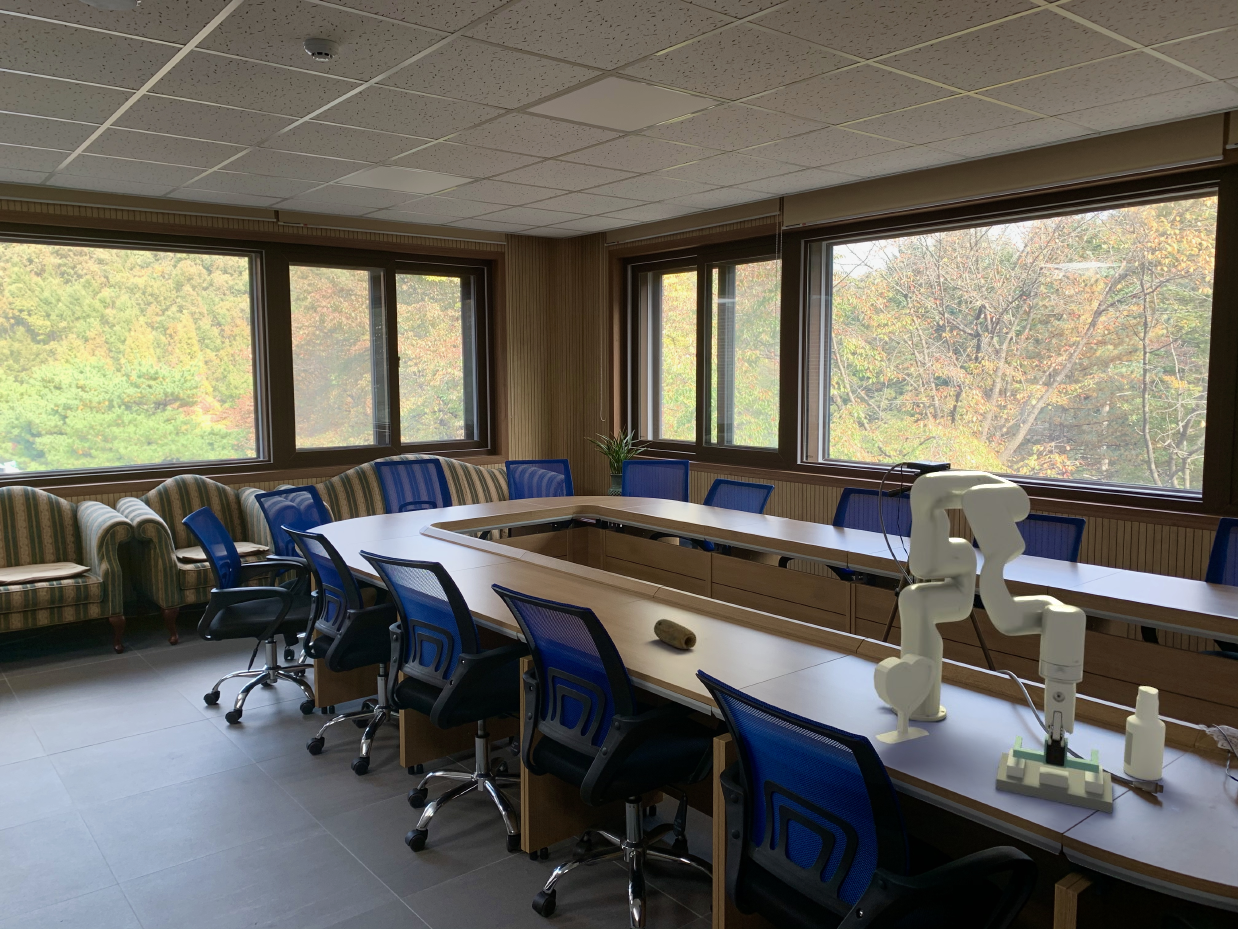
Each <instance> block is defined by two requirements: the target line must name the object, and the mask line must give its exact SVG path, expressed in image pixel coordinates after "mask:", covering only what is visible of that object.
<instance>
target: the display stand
mask: <svg viewBox="0 0 1238 929" xmlns="http://www.w3.org/2000/svg"><path fill="white" fill-rule="evenodd" d="M1111 776H1112V774H1111V773H1110V772H1106V771H1104V770H1103V765H1100V764H1099V773H1093V772H1088V771H1083V770H1078V769H1073V768H1067V767H1066V769H1065V768H1060V767H1055V766H1050V765H1044V764H1043V763H1041V762H1036V761H1031V760H1026V759H1021V758H1015V757H1013V748H1011V747H1010V748H1009V752H1008V753H1007V752H1002V753H1001V756H1000V760H999V765H998V769H997V775H996V779H995V789H996V790H1001V791H1006V792H1010V793H1016V794H1020V795H1024V796H1029V797H1035V798H1039V799H1044V800H1049V801H1053V802H1058V803H1062V804H1068V805H1072V806H1076V807H1082V808H1085V809H1091V810H1096V811H1100V812H1106V813H1110V814H1112V813H1113V792H1112V791H1113V790H1112V789H1113V788H1112V777H1111Z"/></svg>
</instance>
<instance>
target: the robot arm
mask: <svg viewBox="0 0 1238 929" xmlns="http://www.w3.org/2000/svg"><path fill="white" fill-rule="evenodd" d="M909 497H910V498H909V503H910V504H909V505H910V509H911V510H910V511H911V521H912V522H911V529H910V530H911V531H910V542H909V552H908V553H909V554H908V566H909V567H908V568H909V571H910V573H911V574H912V575H913V576H914V577H915V578H917V579H922V580H935V579H937V580H938V579H944V581H938V582H935V581H933V582H919V583H914V584H910V585H907V586H906V587H904V588H903V589H902V590H901V591H900V593H899V595H898V602H897V603H898V610H899V616H900V630H901V633H900V634H901V635H900V636H901V639H900V658H899V659H901V658H902V657H903V656H905V655H906V654H917V655H920V656H923V657H926V658H929V659H931V660H933V661H934V662H935V664H936V674H935V680H934V684H933V686H932V688H931V690H930V693H929V694H928V696H927V697H926V698H925V700H924V701H923V702H922V703H921V704H920V705H919V706H918V707H917V708H916V709H915V710H914V711H913V712H912V713H911V714H910V716H909V720H911V721H912V720H913V721H918V722H937V721H941V720H944V719H946V717H947V712H948V711H947V709H946V707H945V706H943V705H942V704H941V694H942V693H941V690H942V671H943V656H944V655H943V654H944V652H943V650H944V643H943V639H942V636H941V633H940V632H939V630H938V629H937V626H936V624H938V623H939V624H940V623H949V622H950V623H951V622H959V621H962V620H965V619H966V618H968V617H969V616H970V615H971V612H972V609H973V606H974V605H973V604H974V599H975V590H976V581H977V571H978V558H977V554H976V551H975V548H974V546H973V545H972V543H970V542H969V541H968V540H967V539H965V538H963V537H961V538H960V537H950V532H951V531H950V530H951V522H950V518H949V516H948V514H947V512H946V510H947V509H948V510H950V509H957V510H958V509H962V511H963V513H964V516H965V518H966V520H967V522H968V525H969V526H970V529H971V531H972V534H973V535H974V538H975V540H976V542H977V544H978V547H979V549H980V551H981V553H982V556H983V558H984V559H983V560H984V561H983V563H982V566H981V569H980V574H979V584H978V585H979V586H978V587H979V591H978V592H979V596H980V599H981V602H982V604H983V606H984V609H985V610H986V613H987V615H988V618H989V620H990V622H991V623H992V624H993V626H994V627H995V628H996V629H997V630H998V631H999V632H1000V633H1001V634H1004V635H1006V636H1023V635H1024V636H1025V635H1033V634H1035V635H1037V634H1039V635H1040V644H1039V646H1040V648H1039V664H1038V665H1039V666H1038V675H1039V676H1040V677H1041V678H1043V679H1045V680H1044V700H1043V701H1044V702H1043V703H1044V706H1043V707H1044V709H1043V710H1044V728H1045V729H1046V731H1048V735H1049V737H1048V743H1047V747H1046V763H1047V764H1051V765H1056V766H1064V758H1065V746H1064V737H1065V734H1066V733H1068V734H1069V735H1073V733H1074V727H1075V726H1074V725H1075V715H1076V714H1075V711H1076V701H1077V700H1076V699H1077V697H1076V696H1077V694H1076V693H1077V684H1078V683H1080V682H1082V681H1083V670H1084V655H1085V641H1086V640H1085V638H1086V637H1085V636H1086V626H1087V625H1086V624H1087V616H1086V613H1085V611H1084V610H1082V609H1081V608H1080V607H1077V606H1074V605H1070V604H1065V603H1064V602H1062V601H1060V600H1058V599H1057V598H1055V597H1053V596H1050V595H1047V594H1046V595H1045V594H1040V595H1039V594H1038V595H1022V596H1019V595H1018V596H1011V593H1010V591H1009V590H1008V588H1007V584H1006V583H1005V579H1004V570H1005V565H1007V564H1009V563H1010V562H1012V561H1014V560H1015V559H1017V558H1018V557H1020V556H1021V555H1022V554H1023V553H1024V551H1025V550H1026V543H1025V540H1024V538H1023V537H1022V534H1021V532H1020V530H1019V529H1018V526H1017V523H1018V522H1021V521H1023V520H1025V519H1026V518H1027V517H1028V515H1029V513H1030V511H1031V501H1030V498H1029V496H1028V494H1027V492H1026V490H1024V489H1023V487H1022V486H1020V485H1018V484H1016V483H1015V482H1012V481H1009V480H1007V479H1005V478H1001V477H999V476H996V475H993V474H991V473H990V472H989V473H988V472H984V471H977V470H975V471H973V470H971V471H937V472H929V473H925V474H922V475H920V476H919V477H918V478H916V480H915V481H914V483H913V484H912V486H911V490H910V493H909ZM1016 522H1017V523H1016ZM891 710H892V712H893V713H895V715H897V716H898V711H897V710H896V709H895V708H893V707H891Z"/></svg>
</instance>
